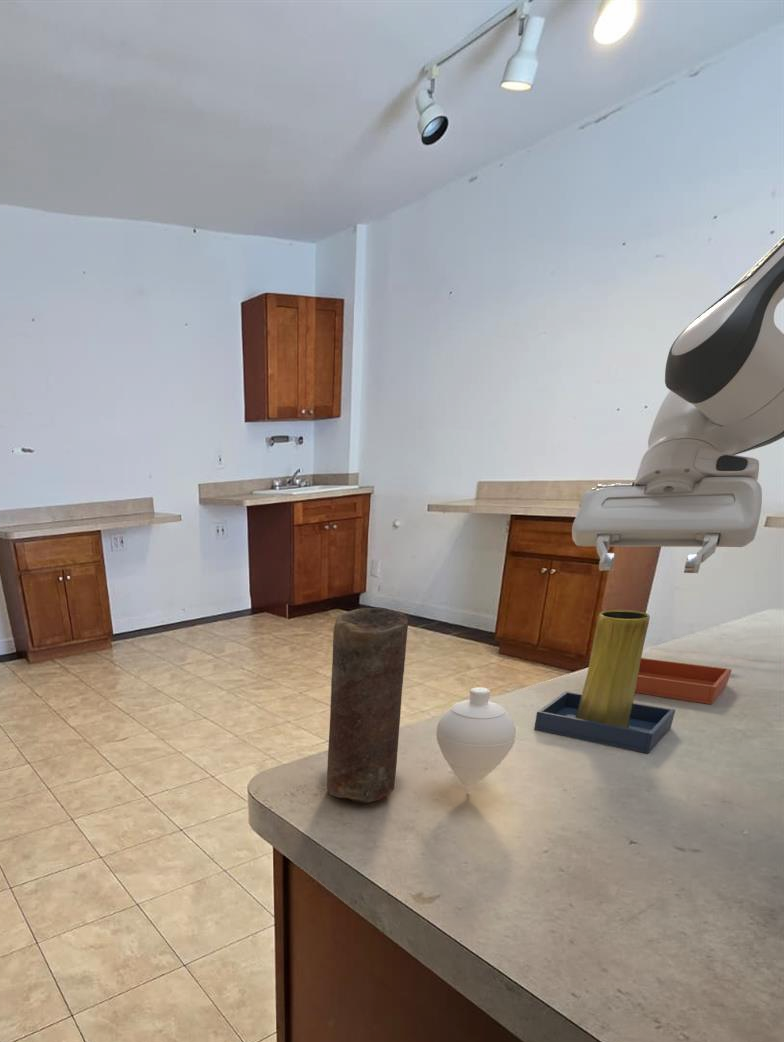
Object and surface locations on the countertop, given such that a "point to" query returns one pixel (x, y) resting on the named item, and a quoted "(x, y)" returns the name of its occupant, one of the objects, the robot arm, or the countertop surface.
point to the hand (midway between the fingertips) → (646, 569)
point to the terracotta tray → (681, 680)
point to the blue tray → (640, 735)
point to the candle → (366, 703)
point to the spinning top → (475, 737)
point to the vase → (613, 667)
